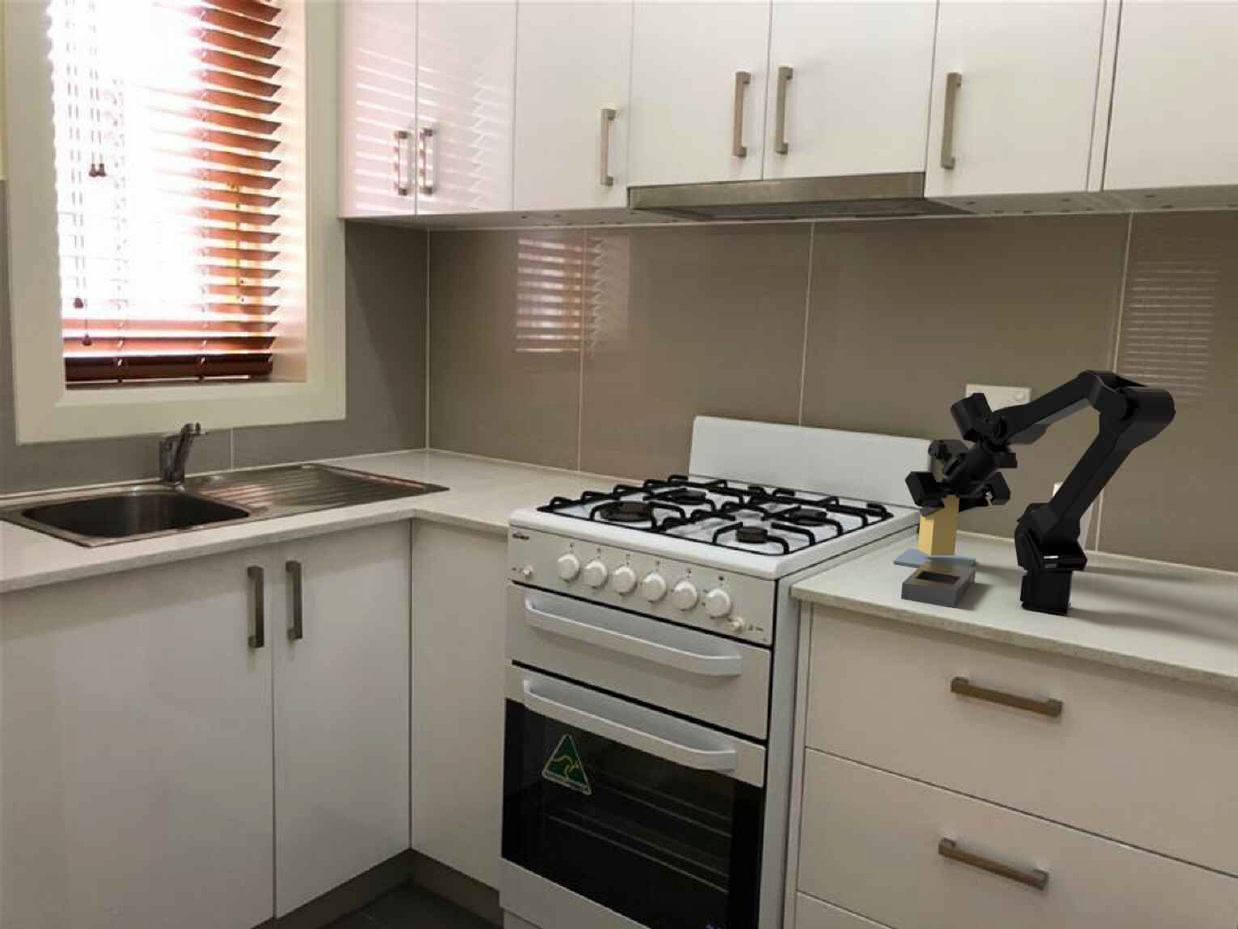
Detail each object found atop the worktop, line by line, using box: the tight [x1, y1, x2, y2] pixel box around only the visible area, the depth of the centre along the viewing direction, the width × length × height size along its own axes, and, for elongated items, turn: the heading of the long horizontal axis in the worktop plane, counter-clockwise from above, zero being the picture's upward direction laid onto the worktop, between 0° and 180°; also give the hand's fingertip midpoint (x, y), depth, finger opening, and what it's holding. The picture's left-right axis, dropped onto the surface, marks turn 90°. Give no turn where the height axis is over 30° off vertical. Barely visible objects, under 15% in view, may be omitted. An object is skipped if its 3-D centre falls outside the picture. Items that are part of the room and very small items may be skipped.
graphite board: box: [900, 560, 977, 608], centre depth 160 cm, size 8×18×2 cm, turn 151°
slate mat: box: [892, 548, 976, 569], centre depth 179 cm, size 12×12×1 cm
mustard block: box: [917, 496, 959, 556], centre depth 177 cm, size 5×5×11 cm
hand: (934, 514), depth 179 cm, fingers open, 5 cm apart
